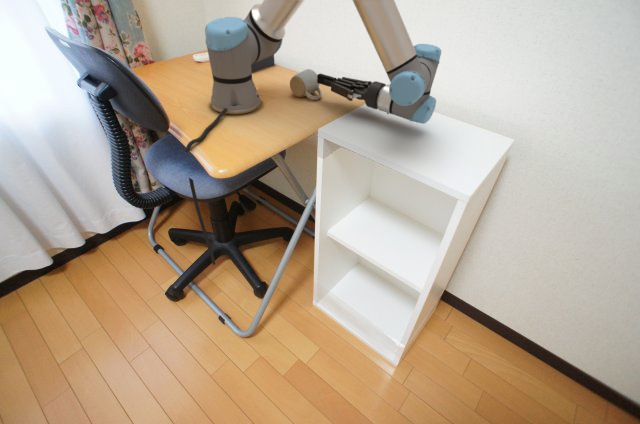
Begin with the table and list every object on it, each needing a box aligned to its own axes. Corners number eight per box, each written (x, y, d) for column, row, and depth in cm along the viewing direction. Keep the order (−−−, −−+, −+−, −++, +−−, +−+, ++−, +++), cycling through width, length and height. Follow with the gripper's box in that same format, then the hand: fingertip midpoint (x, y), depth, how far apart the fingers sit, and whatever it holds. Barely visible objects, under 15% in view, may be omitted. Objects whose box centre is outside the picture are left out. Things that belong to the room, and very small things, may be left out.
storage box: (252, 72, 123) (249, 43, 115) (229, 65, 128) (225, 36, 121) (274, 65, 131) (273, 37, 124) (252, 58, 136) (249, 31, 129)
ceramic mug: (288, 94, 107) (287, 71, 102) (302, 88, 112) (303, 66, 107) (312, 103, 103) (313, 80, 98) (326, 96, 108) (327, 74, 103)
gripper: (369, 116, 90) (306, 95, 100) (389, 103, 98) (328, 84, 108) (373, 90, 85) (306, 70, 95) (394, 78, 93) (330, 61, 103)
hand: (318, 78), depth 102 cm, fingers closed
